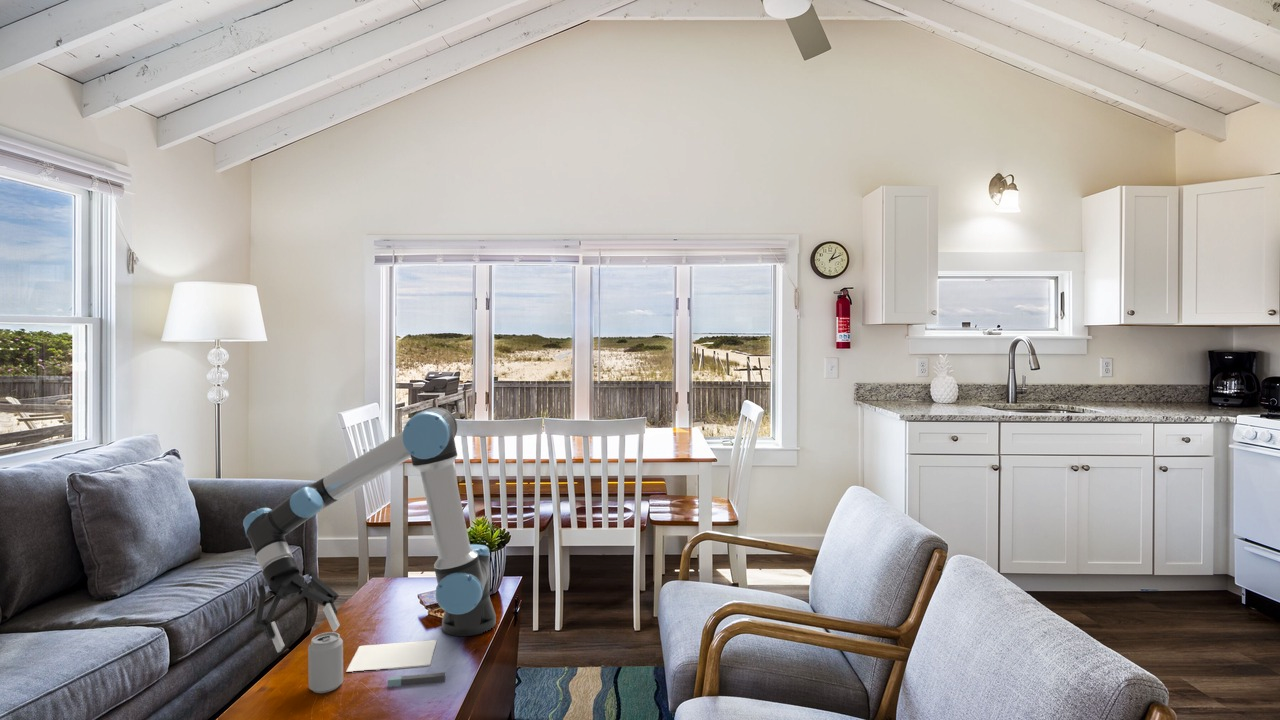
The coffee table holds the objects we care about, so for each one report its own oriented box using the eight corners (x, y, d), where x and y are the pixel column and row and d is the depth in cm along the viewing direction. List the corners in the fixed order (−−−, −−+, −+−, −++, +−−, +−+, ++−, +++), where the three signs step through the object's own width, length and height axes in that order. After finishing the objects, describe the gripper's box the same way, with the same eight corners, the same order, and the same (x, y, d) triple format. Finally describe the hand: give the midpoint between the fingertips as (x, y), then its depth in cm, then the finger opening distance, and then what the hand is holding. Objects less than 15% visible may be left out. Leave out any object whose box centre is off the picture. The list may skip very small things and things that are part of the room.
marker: (445, 678, 161) (445, 671, 161) (444, 682, 160) (444, 675, 159) (389, 683, 159) (389, 676, 159) (387, 687, 157) (387, 680, 157)
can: (334, 675, 163) (333, 627, 162) (349, 685, 158) (348, 636, 158) (302, 687, 157) (302, 637, 157) (317, 698, 152) (317, 647, 152)
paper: (436, 641, 181) (436, 639, 181) (429, 666, 167) (429, 664, 167) (359, 647, 178) (359, 645, 178) (346, 673, 164) (346, 671, 164)
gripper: (320, 559, 180) (351, 628, 171) (219, 587, 159) (250, 666, 151) (330, 543, 176) (363, 613, 168) (229, 570, 156) (261, 650, 148)
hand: (309, 638), depth 160 cm, fingers open, 13 cm apart
